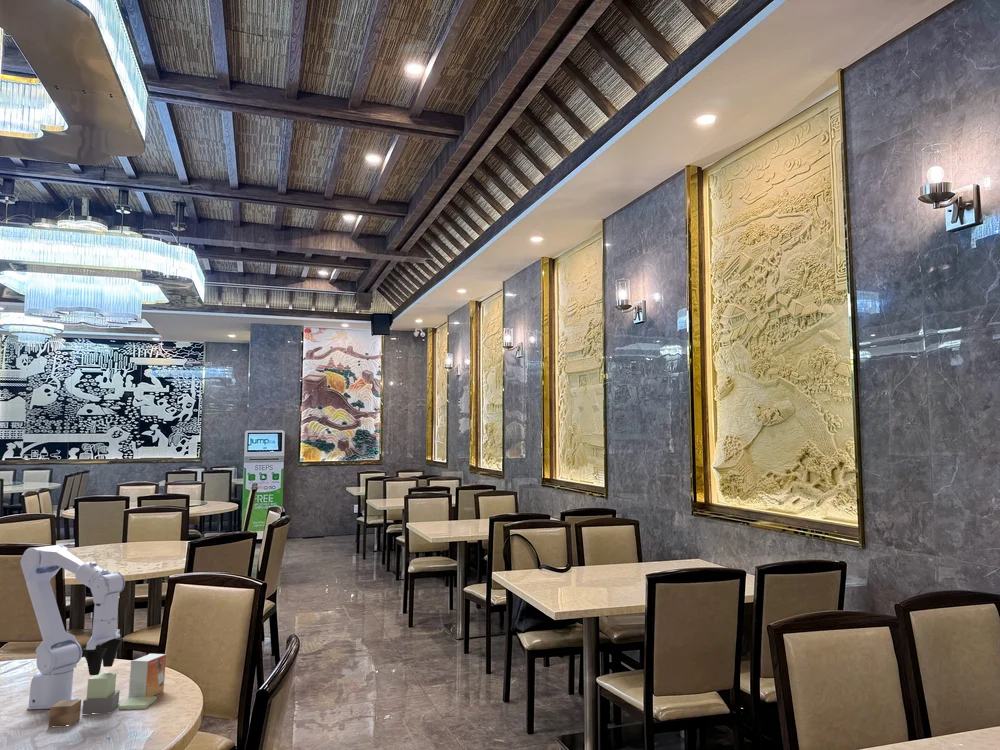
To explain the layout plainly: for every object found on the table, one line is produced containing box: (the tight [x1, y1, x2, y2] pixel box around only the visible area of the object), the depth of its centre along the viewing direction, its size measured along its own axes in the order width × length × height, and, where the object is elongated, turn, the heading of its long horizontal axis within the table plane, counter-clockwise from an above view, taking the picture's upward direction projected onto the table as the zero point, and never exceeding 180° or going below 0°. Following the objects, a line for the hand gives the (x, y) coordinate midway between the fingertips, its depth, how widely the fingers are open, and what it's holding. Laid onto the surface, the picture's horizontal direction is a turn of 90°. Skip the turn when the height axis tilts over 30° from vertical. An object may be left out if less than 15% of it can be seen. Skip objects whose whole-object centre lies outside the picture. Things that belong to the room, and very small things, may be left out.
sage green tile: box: [118, 695, 157, 710], centre depth 183 cm, size 7×7×1 cm
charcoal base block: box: [81, 689, 121, 715], centre depth 180 cm, size 7×7×4 cm
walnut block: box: [48, 698, 82, 728], centre depth 170 cm, size 5×5×5 cm
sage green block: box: [86, 672, 117, 699], centre depth 180 cm, size 5×5×5 cm
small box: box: [127, 653, 167, 699], centre depth 192 cm, size 8×6×10 cm
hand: (101, 670), depth 180 cm, fingers open, 7 cm apart
